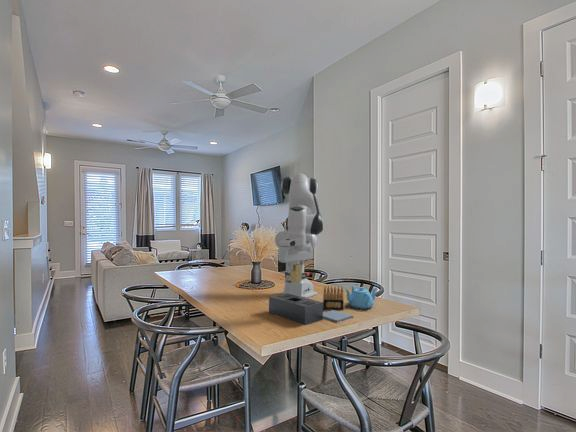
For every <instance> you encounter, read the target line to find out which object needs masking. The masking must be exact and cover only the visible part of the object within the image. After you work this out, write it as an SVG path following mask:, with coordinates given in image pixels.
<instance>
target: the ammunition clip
mask: <svg viewBox="0 0 576 432" xmlns="http://www.w3.org/2000/svg"><path fill="white" fill-rule="evenodd" d="M322 295H323V297H322V302H323V311H325V310H326V311H331V310H335V311H344V310H345V309H344V287H343V286H341V288H340V286H337V287H336V286H334V287H333V286H329V285H328V286H327V288H326V286H324V287H323V294H322Z"/></svg>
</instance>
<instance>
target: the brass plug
mask: <svg viewBox="0 0 576 432" xmlns="http://www.w3.org/2000/svg"><path fill="white" fill-rule="evenodd" d="M292 266H293V267H294V271H290V281H291V282H295V283H297V282H302V265H301V264H292Z"/></svg>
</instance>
